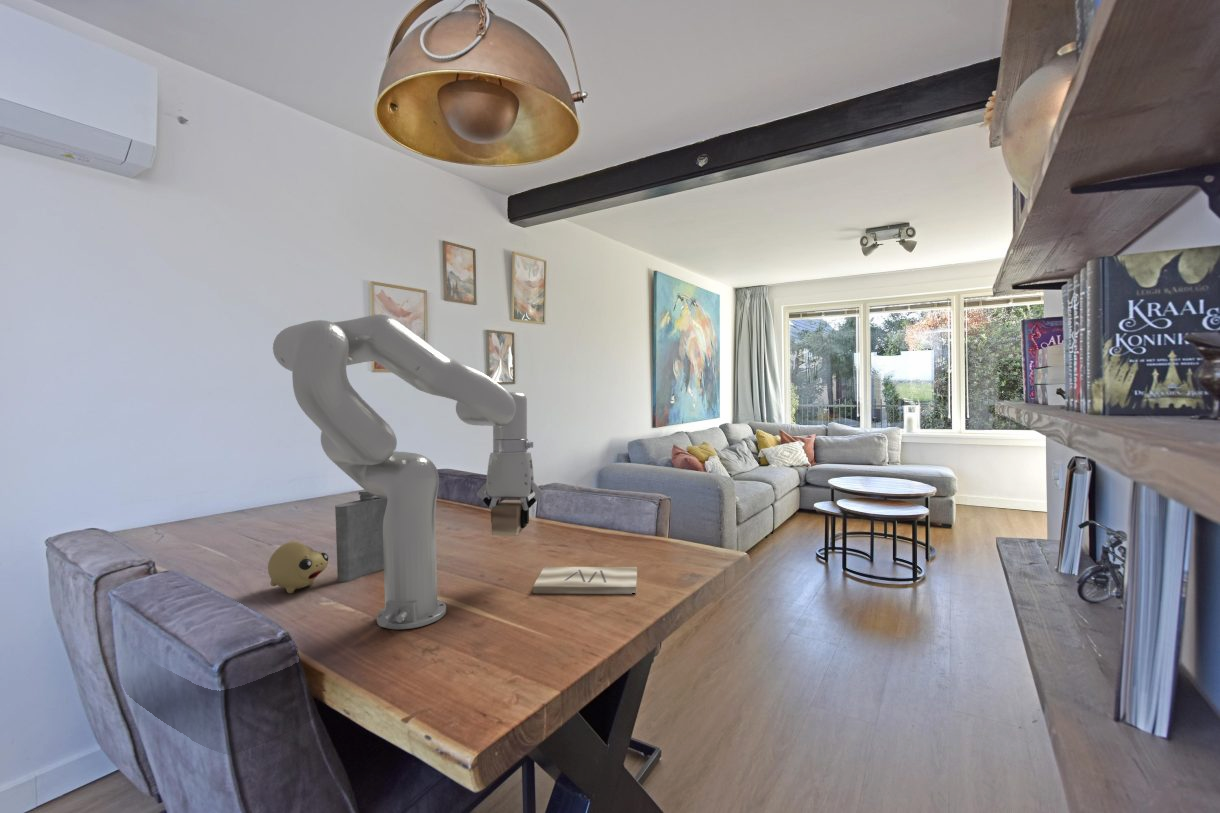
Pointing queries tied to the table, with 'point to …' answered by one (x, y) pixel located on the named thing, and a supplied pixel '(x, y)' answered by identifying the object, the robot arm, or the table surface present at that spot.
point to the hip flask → (360, 536)
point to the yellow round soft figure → (295, 566)
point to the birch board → (587, 580)
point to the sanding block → (507, 518)
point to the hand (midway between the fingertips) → (510, 526)
